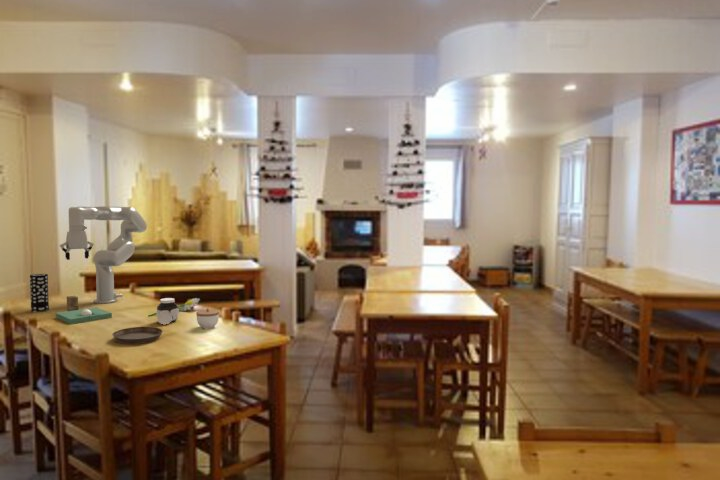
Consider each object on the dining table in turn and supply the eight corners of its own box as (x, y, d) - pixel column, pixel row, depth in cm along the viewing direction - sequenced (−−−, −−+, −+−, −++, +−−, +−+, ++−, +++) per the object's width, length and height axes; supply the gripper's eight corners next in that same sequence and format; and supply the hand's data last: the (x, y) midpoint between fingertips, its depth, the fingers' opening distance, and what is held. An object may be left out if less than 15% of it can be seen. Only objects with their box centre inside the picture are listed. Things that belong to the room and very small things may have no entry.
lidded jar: (223, 325, 247) (223, 307, 246) (210, 330, 236) (210, 311, 236) (205, 323, 250) (205, 305, 249) (191, 328, 240) (191, 309, 239)
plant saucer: (172, 335, 228) (172, 328, 228) (143, 347, 208) (142, 340, 208) (133, 331, 233) (133, 325, 233) (101, 343, 213) (101, 336, 213)
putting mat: (96, 311, 272) (96, 307, 272) (112, 317, 259) (111, 313, 259) (56, 317, 257) (55, 312, 257) (70, 324, 244) (70, 319, 244)
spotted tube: (42, 312, 269) (41, 276, 268) (27, 311, 269) (26, 275, 268) (52, 308, 277) (51, 273, 276) (37, 308, 277) (36, 273, 276)
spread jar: (174, 318, 259) (173, 297, 259) (183, 322, 251) (183, 300, 251) (151, 322, 251) (150, 299, 250) (160, 326, 243) (159, 303, 242)
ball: (83, 318, 251) (82, 321, 255) (94, 315, 254) (92, 317, 258) (79, 310, 252) (78, 313, 255) (90, 306, 255) (88, 309, 259)
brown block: (75, 311, 272) (74, 295, 271) (78, 313, 268) (77, 296, 268) (67, 312, 269) (66, 296, 268) (70, 314, 265) (69, 297, 265)
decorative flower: (154, 322, 260) (205, 306, 282) (153, 313, 259) (203, 298, 281) (144, 319, 268) (193, 304, 290) (142, 311, 268) (192, 296, 290)
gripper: (90, 228, 287) (90, 257, 288) (57, 229, 273) (58, 259, 275) (95, 228, 282) (96, 258, 283) (62, 229, 269) (63, 260, 270)
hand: (77, 258), depth 279 cm, fingers open, 9 cm apart
